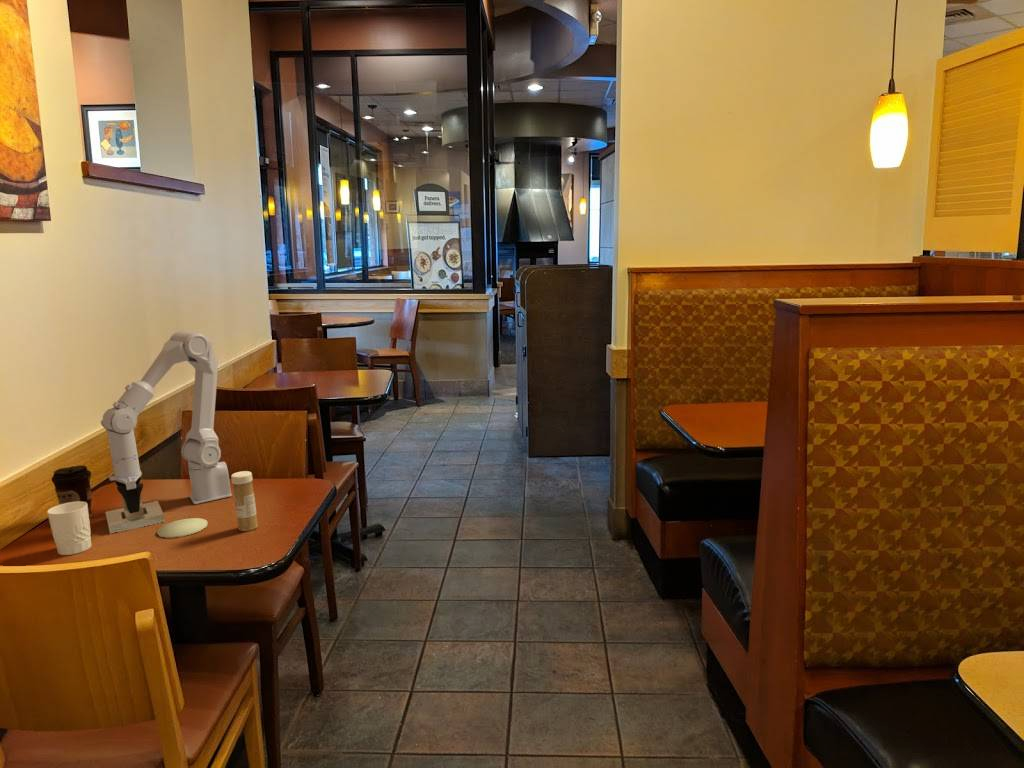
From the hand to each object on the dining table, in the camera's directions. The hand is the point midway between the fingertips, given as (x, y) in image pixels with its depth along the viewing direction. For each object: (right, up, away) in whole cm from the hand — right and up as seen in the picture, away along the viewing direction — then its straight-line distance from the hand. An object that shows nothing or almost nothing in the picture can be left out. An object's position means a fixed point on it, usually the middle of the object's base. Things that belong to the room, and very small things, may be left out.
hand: (133, 509), depth 188 cm
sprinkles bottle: (+31, -3, -9) cm, 33 cm away
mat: (+15, -3, -7) cm, 17 cm away
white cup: (-6, -7, -15) cm, 18 cm away
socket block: (0, -3, +1) cm, 3 cm away
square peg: (0, -3, +1) cm, 3 cm away
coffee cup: (-16, -3, +5) cm, 17 cm away
